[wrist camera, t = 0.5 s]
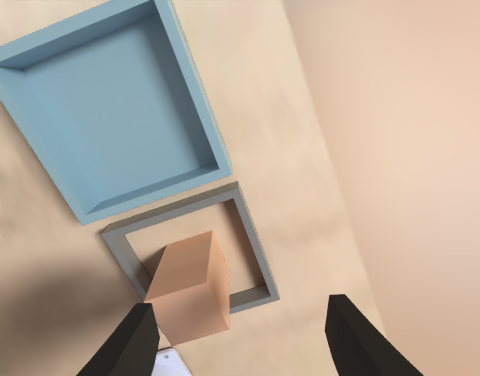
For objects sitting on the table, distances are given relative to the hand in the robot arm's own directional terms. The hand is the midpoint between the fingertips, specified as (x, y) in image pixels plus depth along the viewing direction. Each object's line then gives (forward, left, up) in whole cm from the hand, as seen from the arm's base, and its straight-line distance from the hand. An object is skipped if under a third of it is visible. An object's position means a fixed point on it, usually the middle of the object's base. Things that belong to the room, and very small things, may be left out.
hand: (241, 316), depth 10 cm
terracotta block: (-4, -3, -10) cm, 12 cm away
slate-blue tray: (-4, +9, -10) cm, 14 cm away
